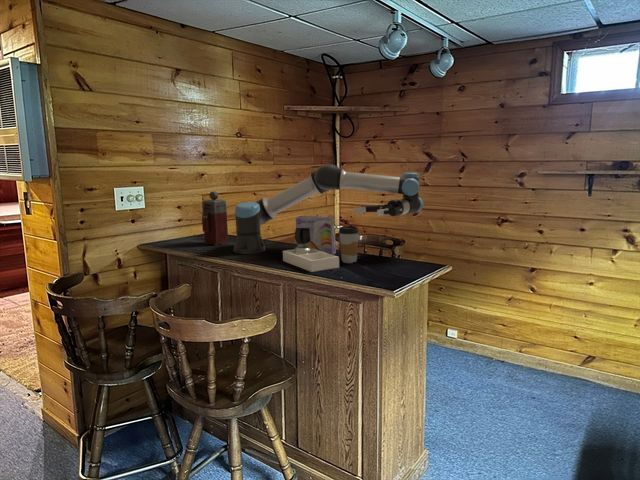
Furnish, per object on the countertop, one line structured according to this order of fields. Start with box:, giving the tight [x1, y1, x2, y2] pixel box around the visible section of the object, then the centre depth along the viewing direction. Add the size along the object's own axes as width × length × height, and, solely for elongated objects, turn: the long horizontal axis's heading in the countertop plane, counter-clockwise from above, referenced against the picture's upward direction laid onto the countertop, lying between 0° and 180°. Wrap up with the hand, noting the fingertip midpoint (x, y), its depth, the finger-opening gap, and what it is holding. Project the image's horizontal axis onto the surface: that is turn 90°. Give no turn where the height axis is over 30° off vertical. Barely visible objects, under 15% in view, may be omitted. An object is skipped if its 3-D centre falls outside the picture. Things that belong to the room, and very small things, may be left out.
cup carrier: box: [282, 248, 340, 273], centre depth 203 cm, size 25×13×4 cm, turn 31°
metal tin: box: [294, 247, 311, 255], centre depth 208 cm, size 7×7×5 cm
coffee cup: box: [338, 225, 359, 264], centre depth 205 cm, size 8×8×15 cm
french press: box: [201, 190, 229, 245], centre depth 253 cm, size 9×11×28 cm
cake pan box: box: [294, 215, 337, 255], centre depth 223 cm, size 19×5×18 cm, turn 65°
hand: (366, 212), depth 209 cm, fingers open, 13 cm apart
